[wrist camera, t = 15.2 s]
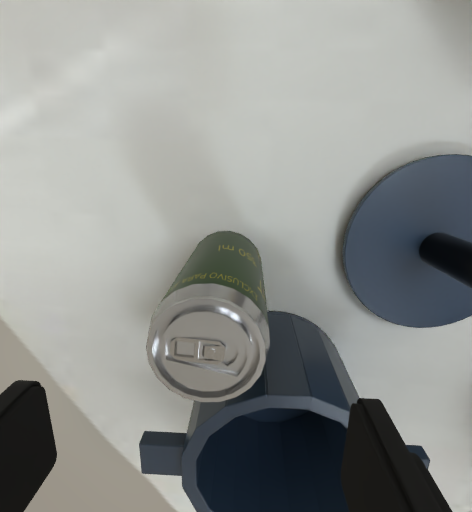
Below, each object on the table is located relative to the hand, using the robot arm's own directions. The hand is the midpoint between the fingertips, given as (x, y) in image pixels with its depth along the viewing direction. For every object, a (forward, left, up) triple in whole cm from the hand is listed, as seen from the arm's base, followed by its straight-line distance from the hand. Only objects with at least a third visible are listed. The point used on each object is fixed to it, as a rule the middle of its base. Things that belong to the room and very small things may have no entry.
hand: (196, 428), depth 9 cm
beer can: (0, 0, -16) cm, 16 cm away
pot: (+10, +4, -15) cm, 19 cm away
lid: (-2, +15, -15) cm, 21 cm away
